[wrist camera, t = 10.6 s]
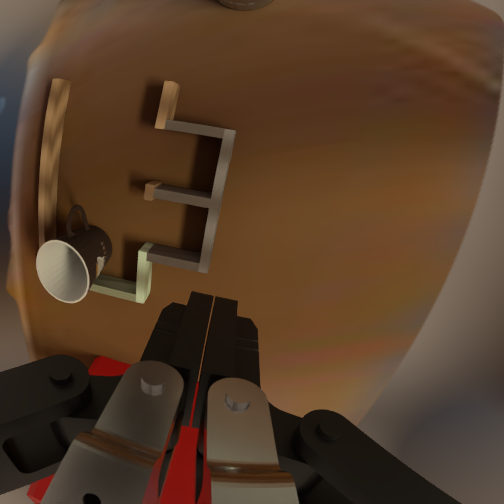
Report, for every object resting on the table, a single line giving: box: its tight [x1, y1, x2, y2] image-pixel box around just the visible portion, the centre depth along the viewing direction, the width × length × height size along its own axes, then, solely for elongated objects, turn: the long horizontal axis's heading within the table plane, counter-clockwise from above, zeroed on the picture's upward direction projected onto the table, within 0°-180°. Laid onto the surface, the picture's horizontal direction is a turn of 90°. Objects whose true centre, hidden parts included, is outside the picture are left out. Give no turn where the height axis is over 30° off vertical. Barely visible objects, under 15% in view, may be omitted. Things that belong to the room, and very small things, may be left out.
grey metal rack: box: [38, 79, 236, 304], centre depth 37 cm, size 30×27×4 cm
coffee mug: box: [36, 205, 112, 303], centre depth 37 cm, size 12×9×10 cm
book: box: [27, 356, 199, 504], centre depth 37 cm, size 27×8×32 cm, turn 76°
